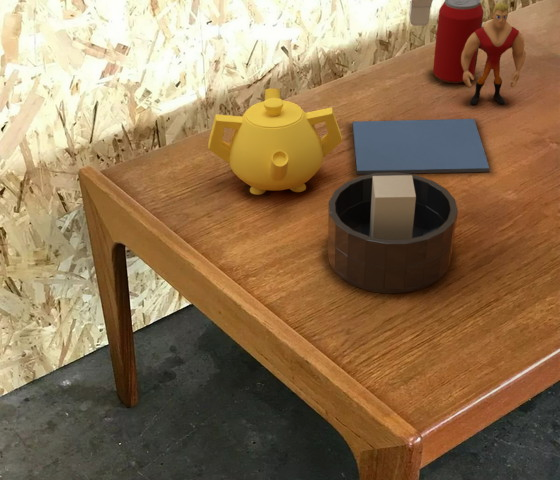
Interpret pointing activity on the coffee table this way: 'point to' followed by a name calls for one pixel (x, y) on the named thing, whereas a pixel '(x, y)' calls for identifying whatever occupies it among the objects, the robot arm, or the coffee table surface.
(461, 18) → the beverage can
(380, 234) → the item
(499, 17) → the action figure
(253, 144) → the teapot
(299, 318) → the coffee table surface
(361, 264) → the pot
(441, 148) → the blue rectangular board
